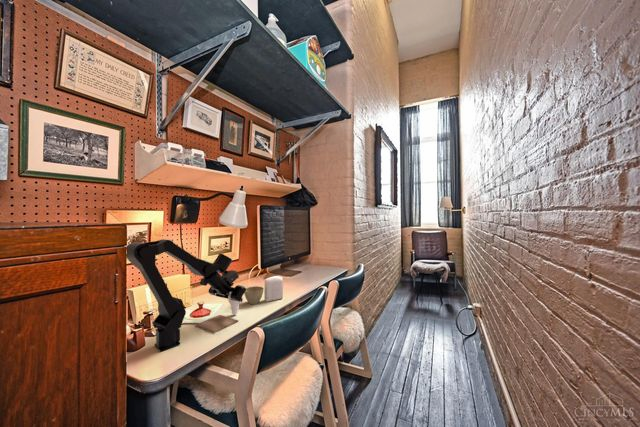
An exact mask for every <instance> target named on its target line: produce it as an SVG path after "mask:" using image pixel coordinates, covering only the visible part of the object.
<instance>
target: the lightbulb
mask: <svg viewBox="0 0 640 427" xmlns="http://www.w3.org/2000/svg"><path fill="white" fill-rule="evenodd" d="M230 295H231V293H230V294H229V296H228V299H227V301H228V303H229V304H230V308H231V309H230V310H231V315H233V316H236V315H237V314H238V313H239V306H240V303H241V302H239V301H234V300H231V298H230Z"/></svg>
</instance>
